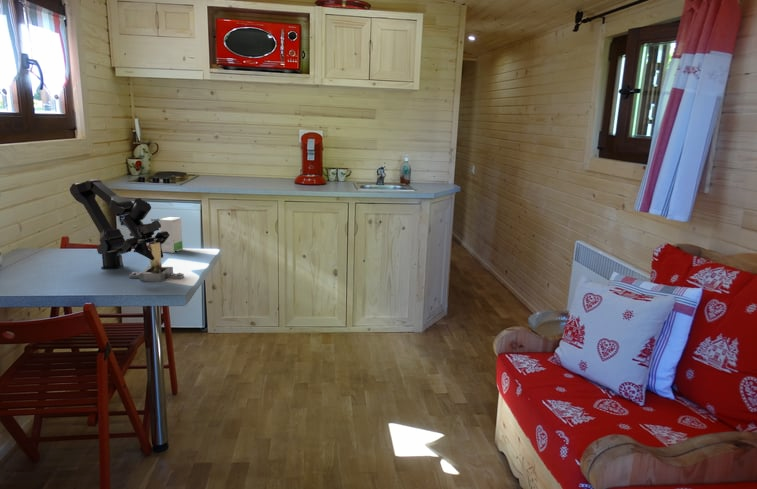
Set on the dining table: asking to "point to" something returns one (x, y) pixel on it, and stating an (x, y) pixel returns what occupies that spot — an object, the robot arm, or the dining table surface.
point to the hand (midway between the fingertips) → (157, 258)
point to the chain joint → (156, 275)
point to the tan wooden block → (155, 257)
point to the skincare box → (172, 234)
